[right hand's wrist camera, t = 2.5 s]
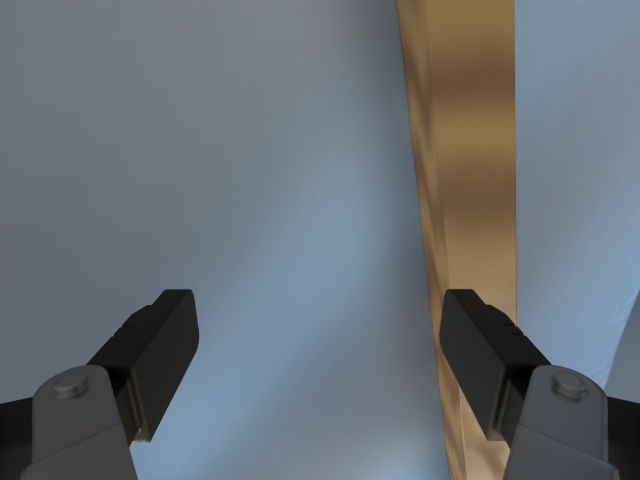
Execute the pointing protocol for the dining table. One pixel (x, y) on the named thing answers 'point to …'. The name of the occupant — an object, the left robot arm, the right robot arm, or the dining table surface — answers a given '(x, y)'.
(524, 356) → the right robot arm
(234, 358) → the dining table surface
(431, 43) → the bar
